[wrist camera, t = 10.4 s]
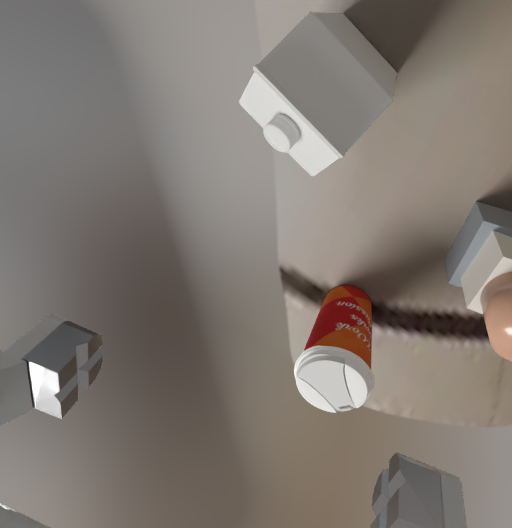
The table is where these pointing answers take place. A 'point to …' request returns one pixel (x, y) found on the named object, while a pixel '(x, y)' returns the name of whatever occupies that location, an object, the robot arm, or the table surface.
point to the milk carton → (319, 90)
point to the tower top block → (486, 268)
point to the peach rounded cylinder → (499, 313)
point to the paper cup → (338, 353)
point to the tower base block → (475, 238)
